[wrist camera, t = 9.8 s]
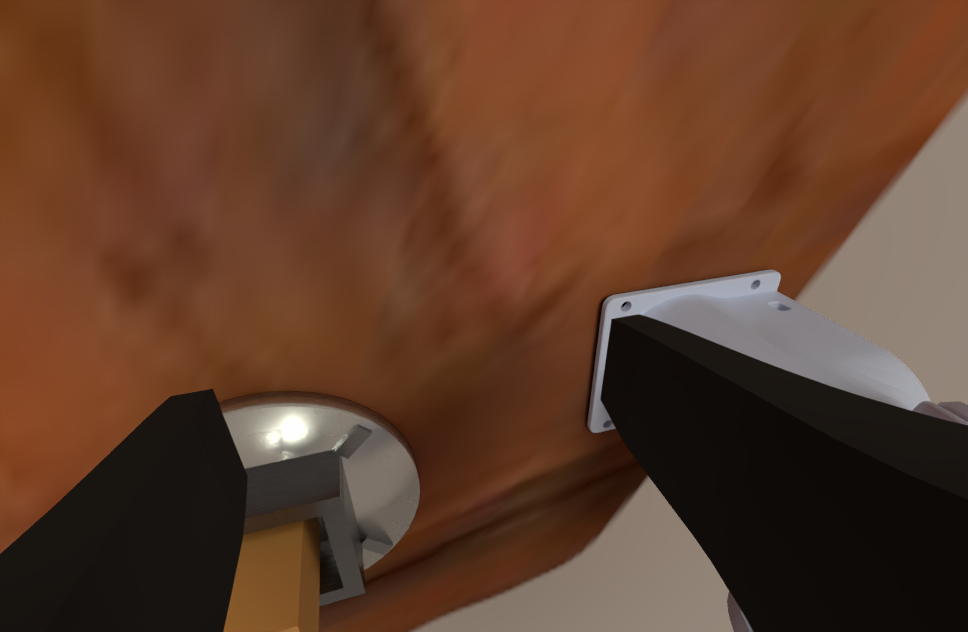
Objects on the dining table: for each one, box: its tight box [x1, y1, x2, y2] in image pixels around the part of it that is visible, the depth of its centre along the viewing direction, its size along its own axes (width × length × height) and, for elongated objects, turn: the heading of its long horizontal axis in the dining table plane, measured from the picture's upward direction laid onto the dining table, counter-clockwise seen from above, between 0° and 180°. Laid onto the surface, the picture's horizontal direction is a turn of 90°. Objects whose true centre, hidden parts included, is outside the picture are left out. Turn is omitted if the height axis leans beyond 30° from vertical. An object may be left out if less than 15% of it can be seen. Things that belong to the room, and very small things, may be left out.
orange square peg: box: [223, 517, 321, 632], centre depth 18 cm, size 3×3×6 cm
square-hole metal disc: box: [219, 391, 420, 606], centre depth 20 cm, size 12×12×4 cm
